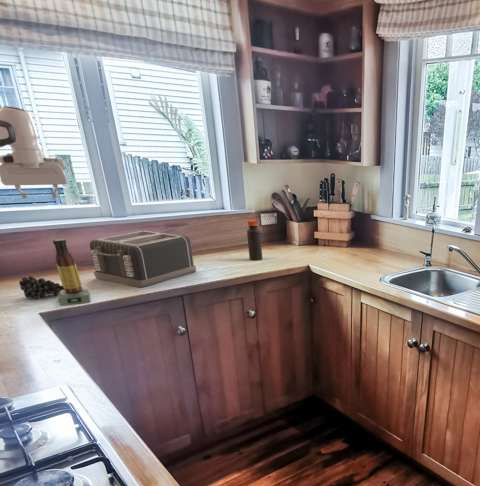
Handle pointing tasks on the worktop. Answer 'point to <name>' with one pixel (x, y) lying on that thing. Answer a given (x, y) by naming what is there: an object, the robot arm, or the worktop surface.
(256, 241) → the vinegar
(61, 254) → the sauce bottle
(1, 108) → the robot arm
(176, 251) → the toaster
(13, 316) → the worktop surface
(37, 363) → the worktop surface
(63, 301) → the scale
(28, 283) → the fruit
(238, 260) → the worktop surface
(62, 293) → the scale pan
